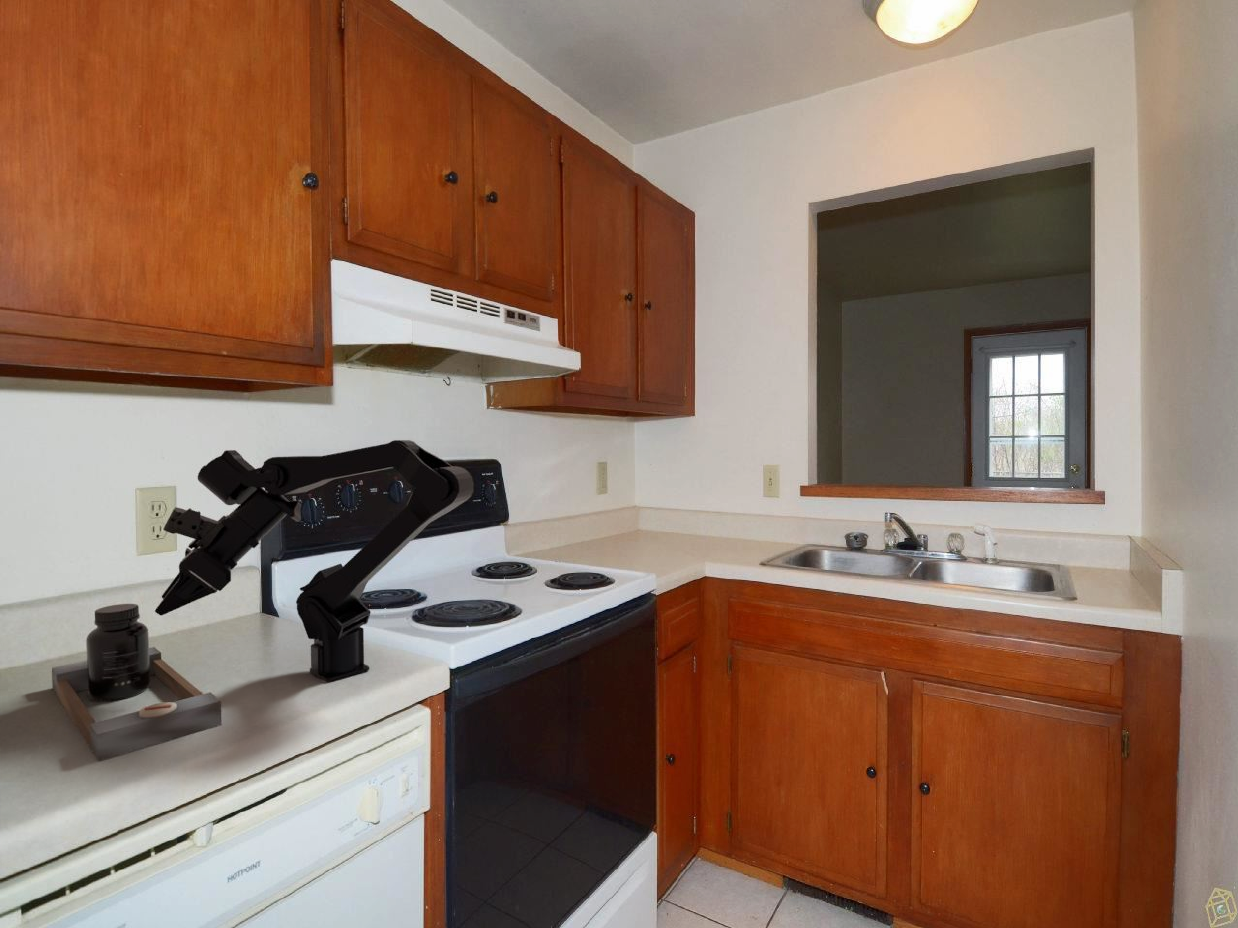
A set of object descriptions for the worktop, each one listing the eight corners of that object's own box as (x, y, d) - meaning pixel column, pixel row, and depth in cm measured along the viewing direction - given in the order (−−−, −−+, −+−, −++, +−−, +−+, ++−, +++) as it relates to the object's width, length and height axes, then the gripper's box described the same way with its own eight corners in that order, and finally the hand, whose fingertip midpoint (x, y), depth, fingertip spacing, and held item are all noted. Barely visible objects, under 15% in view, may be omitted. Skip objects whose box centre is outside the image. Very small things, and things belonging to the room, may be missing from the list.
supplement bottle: (85, 692, 89) (82, 607, 89) (145, 679, 94) (143, 598, 93) (91, 707, 84) (88, 617, 84) (154, 692, 89) (151, 607, 88)
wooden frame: (154, 665, 99) (154, 643, 99) (221, 724, 79) (220, 695, 79) (52, 688, 90) (51, 663, 90) (98, 761, 70) (96, 728, 70)
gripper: (205, 484, 101) (119, 559, 96) (199, 492, 85) (96, 583, 80) (263, 529, 106) (184, 604, 100) (268, 545, 90) (174, 635, 84)
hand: (161, 605), depth 91 cm, fingers open, 9 cm apart
